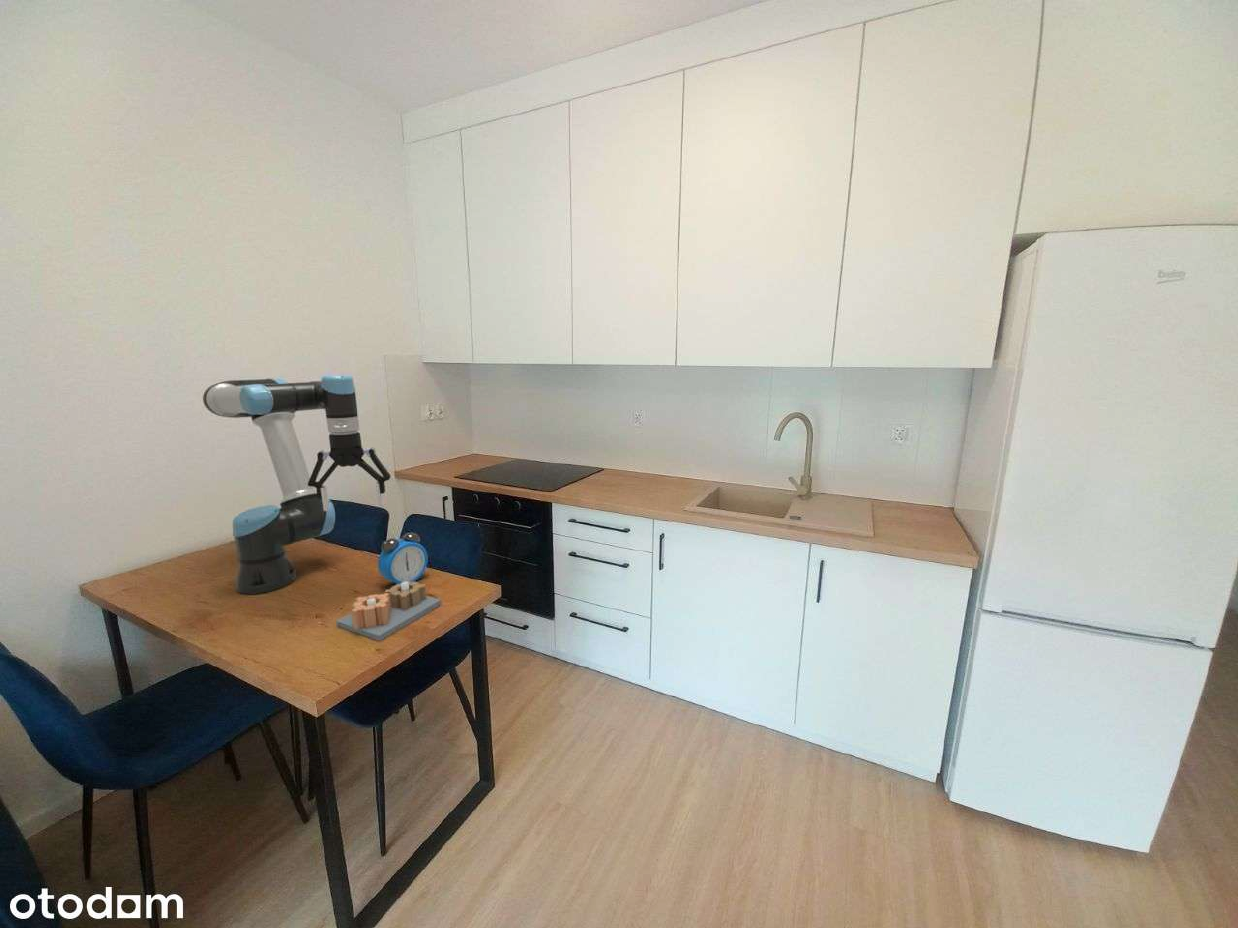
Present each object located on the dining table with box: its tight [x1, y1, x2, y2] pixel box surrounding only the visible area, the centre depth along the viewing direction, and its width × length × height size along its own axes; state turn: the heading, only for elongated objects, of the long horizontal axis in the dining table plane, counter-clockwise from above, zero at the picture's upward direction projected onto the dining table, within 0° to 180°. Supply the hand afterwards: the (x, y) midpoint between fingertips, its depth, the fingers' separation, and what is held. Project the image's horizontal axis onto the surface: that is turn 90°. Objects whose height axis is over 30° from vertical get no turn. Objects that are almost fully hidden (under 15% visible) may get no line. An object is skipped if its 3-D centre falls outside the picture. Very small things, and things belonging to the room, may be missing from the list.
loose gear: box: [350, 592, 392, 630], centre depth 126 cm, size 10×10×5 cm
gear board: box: [335, 580, 442, 642], centre depth 131 cm, size 16×20×7 cm
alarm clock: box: [377, 531, 429, 585], centre depth 150 cm, size 13×6×15 cm, turn 144°
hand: (353, 507), depth 138 cm, fingers open, 13 cm apart
